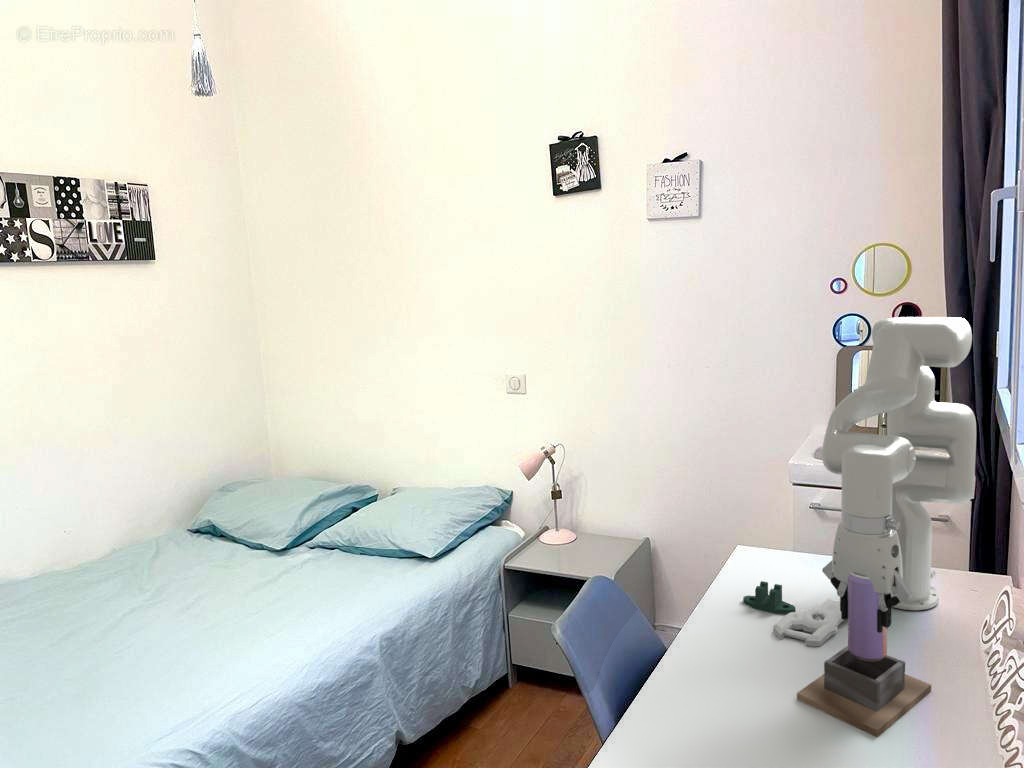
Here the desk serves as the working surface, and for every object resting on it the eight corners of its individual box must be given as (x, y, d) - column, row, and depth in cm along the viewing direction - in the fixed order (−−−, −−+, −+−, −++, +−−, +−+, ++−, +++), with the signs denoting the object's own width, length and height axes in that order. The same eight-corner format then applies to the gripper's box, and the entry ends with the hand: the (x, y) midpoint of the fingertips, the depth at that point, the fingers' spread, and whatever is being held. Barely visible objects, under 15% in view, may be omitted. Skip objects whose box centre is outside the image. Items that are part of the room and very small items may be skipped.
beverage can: (869, 666, 126) (869, 580, 123) (840, 650, 131) (839, 568, 128) (895, 656, 128) (895, 571, 126) (865, 641, 133) (864, 559, 131)
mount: (798, 609, 162) (798, 587, 161) (791, 618, 159) (791, 595, 158) (747, 598, 169) (747, 576, 168) (740, 606, 165) (739, 584, 164)
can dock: (852, 659, 142) (852, 628, 141) (931, 690, 131) (932, 657, 130) (796, 699, 132) (796, 666, 130) (877, 737, 120) (877, 701, 119)
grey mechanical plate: (811, 588, 164) (858, 602, 156) (811, 602, 164) (859, 617, 157) (768, 625, 152) (817, 642, 145) (768, 640, 153) (817, 658, 145)
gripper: (931, 527, 121) (928, 633, 124) (829, 503, 135) (829, 599, 138) (908, 541, 117) (905, 650, 120) (805, 514, 130) (806, 613, 133)
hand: (865, 622), depth 129 cm, fingers closed on beverage can, 5 cm apart
